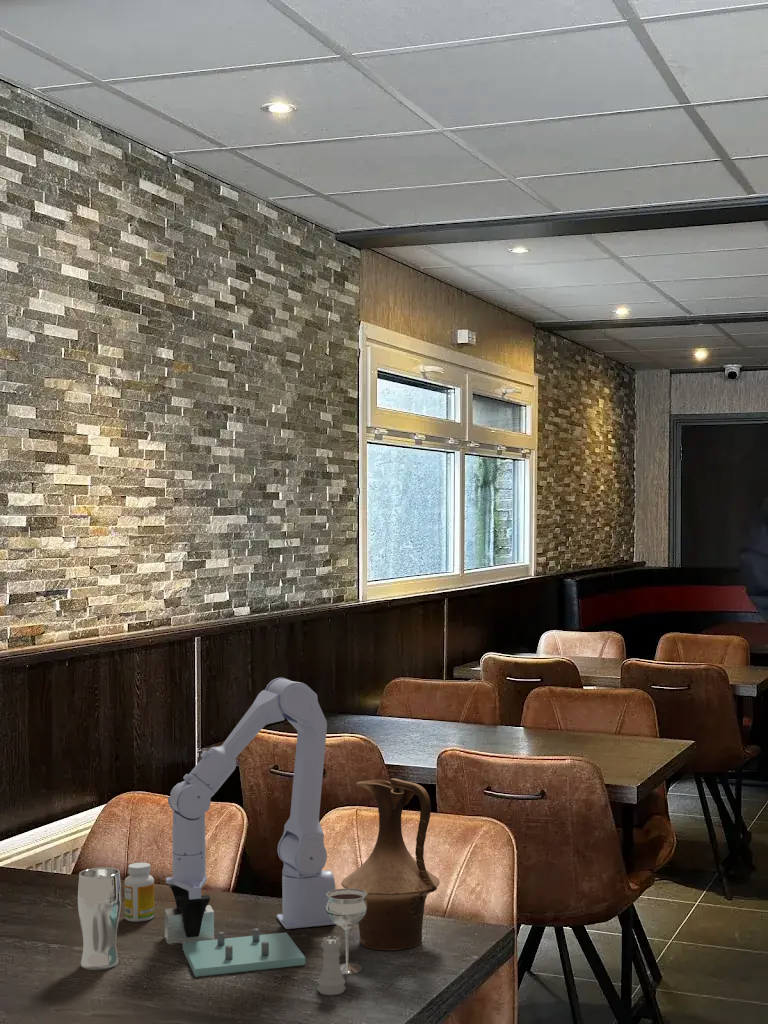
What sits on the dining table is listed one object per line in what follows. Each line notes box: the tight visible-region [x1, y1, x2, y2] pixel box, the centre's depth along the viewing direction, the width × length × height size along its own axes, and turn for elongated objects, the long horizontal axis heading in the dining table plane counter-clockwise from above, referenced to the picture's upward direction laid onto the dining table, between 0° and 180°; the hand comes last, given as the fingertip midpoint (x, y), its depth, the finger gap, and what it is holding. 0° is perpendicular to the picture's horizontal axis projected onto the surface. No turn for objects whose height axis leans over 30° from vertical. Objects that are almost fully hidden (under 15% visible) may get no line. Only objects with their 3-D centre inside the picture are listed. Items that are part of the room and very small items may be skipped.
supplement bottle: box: [124, 862, 155, 923], centre depth 232 cm, size 5×5×10 cm
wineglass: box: [326, 888, 368, 975], centre depth 203 cm, size 7×7×12 cm
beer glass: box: [77, 866, 122, 971], centre depth 206 cm, size 7×7×15 cm
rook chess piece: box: [316, 935, 347, 997], centre depth 193 cm, size 4×4×8 cm
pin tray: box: [182, 927, 306, 978], centre depth 209 cm, size 18×14×3 cm
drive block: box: [164, 904, 215, 945], centre depth 219 cm, size 8×4×5 cm, turn 107°
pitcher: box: [340, 777, 441, 951], centre depth 217 cm, size 18×17×28 cm
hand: (189, 930), depth 219 cm, fingers open, 7 cm apart
